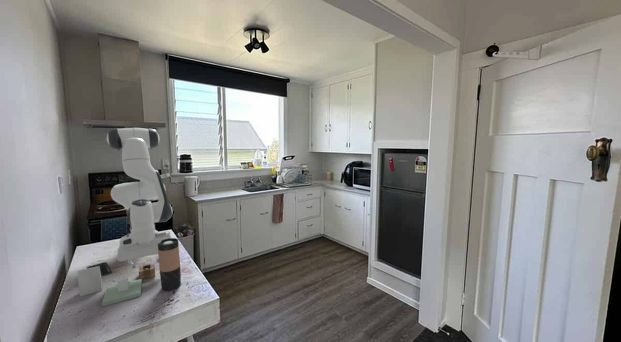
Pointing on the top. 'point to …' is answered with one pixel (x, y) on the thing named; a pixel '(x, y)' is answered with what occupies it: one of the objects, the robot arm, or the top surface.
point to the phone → (102, 268)
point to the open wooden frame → (147, 271)
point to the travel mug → (169, 264)
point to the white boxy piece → (89, 280)
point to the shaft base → (122, 291)
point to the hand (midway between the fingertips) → (146, 265)
